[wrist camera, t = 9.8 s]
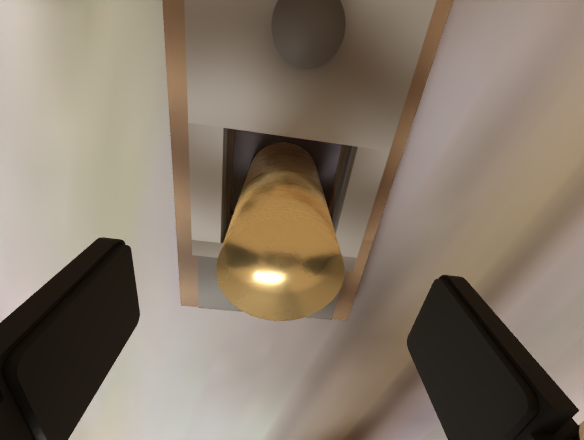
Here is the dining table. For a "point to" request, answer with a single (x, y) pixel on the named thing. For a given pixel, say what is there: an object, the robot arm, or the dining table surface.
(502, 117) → the dining table surface
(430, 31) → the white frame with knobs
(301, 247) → the pin
